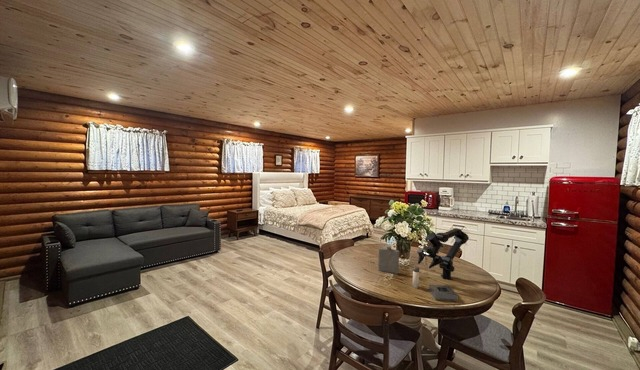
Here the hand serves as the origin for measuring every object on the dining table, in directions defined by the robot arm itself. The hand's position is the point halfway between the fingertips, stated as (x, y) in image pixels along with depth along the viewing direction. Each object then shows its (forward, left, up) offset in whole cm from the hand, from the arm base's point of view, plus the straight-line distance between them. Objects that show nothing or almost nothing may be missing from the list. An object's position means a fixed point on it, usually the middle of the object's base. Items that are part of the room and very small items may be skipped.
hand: (423, 265), depth 185 cm
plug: (+4, -6, -13) cm, 15 cm away
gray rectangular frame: (+15, +8, -13) cm, 22 cm away
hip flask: (-21, -21, -14) cm, 32 cm away
